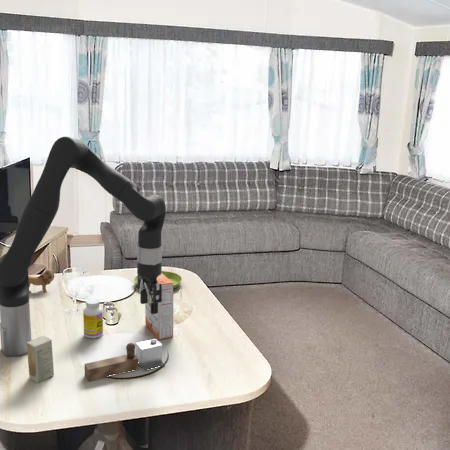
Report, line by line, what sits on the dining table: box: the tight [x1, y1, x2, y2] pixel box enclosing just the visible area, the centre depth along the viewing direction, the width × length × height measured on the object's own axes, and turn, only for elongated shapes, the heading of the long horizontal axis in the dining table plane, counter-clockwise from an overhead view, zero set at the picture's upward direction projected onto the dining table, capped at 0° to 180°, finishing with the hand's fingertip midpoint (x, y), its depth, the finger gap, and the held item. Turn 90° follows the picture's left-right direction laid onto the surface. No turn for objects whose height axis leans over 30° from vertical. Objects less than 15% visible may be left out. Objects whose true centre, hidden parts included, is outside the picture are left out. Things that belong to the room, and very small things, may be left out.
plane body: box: [83, 342, 139, 382], centre depth 183 cm, size 16×4×9 cm, turn 120°
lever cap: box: [135, 338, 163, 367], centre depth 190 cm, size 7×5×7 cm
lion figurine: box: [28, 269, 55, 294], centre depth 245 cm, size 15×5×9 cm, turn 109°
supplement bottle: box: [82, 298, 104, 339], centre depth 207 cm, size 7×7×13 cm
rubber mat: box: [141, 361, 166, 371], centre depth 191 cm, size 7×9×1 cm
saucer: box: [133, 270, 183, 290], centre depth 257 cm, size 21×21×3 cm
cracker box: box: [144, 273, 174, 341], centre depth 211 cm, size 14×6×21 cm, turn 27°
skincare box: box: [26, 335, 55, 384], centre depth 179 cm, size 6×4×12 cm
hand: (149, 308), depth 186 cm, fingers open, 8 cm apart
